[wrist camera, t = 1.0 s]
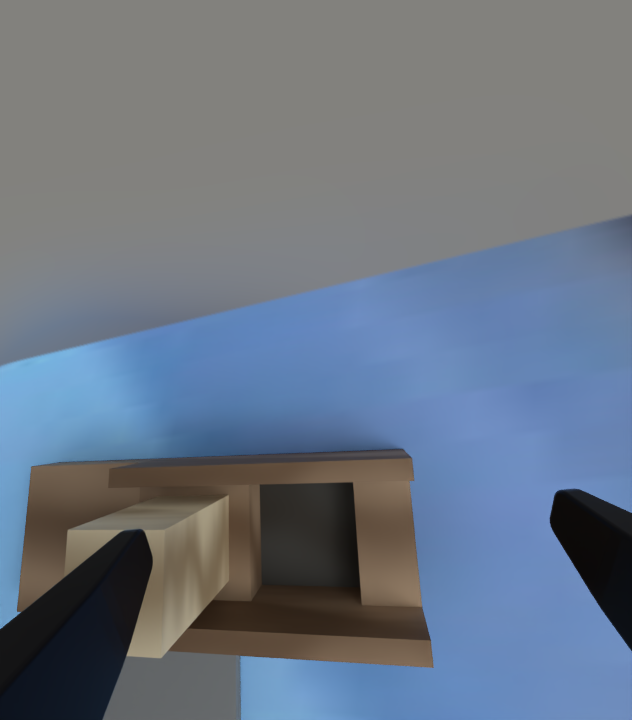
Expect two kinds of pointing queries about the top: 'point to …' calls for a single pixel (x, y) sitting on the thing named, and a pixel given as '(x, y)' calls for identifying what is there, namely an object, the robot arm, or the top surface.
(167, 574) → the maple block
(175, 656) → the slate pad
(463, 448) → the top surface
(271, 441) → the top surface
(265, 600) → the walnut trough
